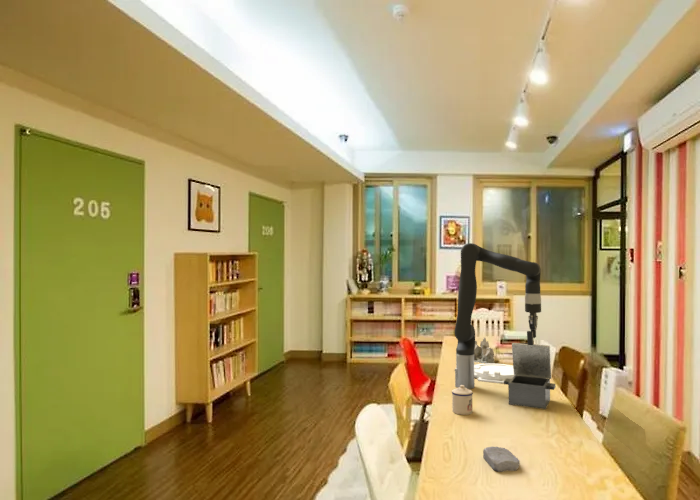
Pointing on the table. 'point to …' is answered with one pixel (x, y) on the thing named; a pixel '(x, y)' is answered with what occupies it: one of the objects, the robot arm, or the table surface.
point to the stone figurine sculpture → (483, 352)
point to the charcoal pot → (529, 391)
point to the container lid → (493, 372)
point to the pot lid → (531, 359)
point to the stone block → (500, 459)
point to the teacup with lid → (462, 400)
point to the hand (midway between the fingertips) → (533, 337)
